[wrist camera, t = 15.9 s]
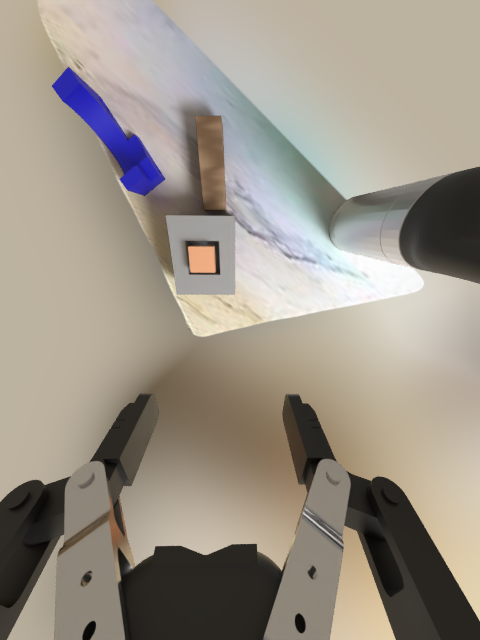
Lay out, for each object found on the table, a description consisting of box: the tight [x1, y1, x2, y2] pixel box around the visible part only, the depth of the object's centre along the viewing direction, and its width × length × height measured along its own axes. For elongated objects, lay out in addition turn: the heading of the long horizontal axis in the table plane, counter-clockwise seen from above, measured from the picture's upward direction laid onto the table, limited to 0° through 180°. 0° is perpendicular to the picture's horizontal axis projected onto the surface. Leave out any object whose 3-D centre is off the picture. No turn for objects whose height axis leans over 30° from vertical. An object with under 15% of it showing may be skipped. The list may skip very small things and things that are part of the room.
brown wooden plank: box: [195, 116, 226, 211], centre depth 30 cm, size 4×4×11 cm
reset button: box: [188, 246, 216, 273], centre depth 31 cm, size 4×4×3 cm
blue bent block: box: [52, 67, 165, 196], centre depth 27 cm, size 12×4×6 cm, turn 31°
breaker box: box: [166, 215, 235, 295], centre depth 34 cm, size 10×12×7 cm
